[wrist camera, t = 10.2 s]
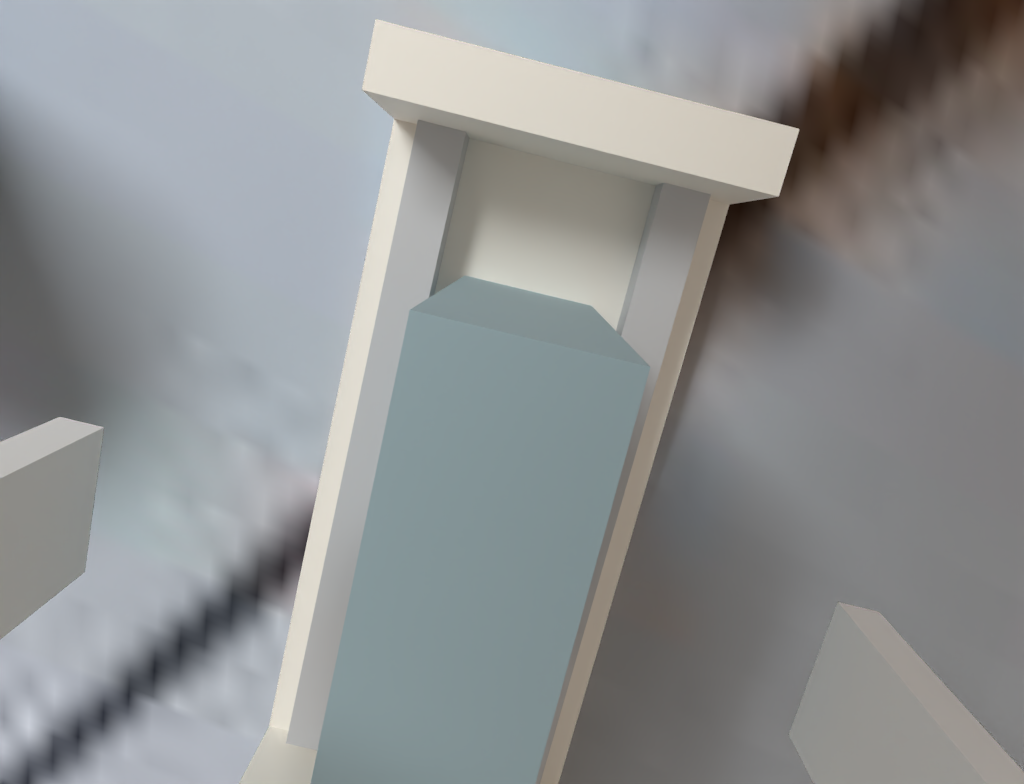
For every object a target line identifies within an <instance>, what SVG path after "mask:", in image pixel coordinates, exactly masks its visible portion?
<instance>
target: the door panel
mask: <svg viewBox="0 0 1024 784" xmlns="http://www.w3.org/2000/svg"><path fill="white" fill-rule="evenodd" d="M649 371H650V366H649V365H648V364H647V363H646V362H645V361H644V360H643V359H642V358H641V357H640V356H639V355H638V353H637V352H636V351H635V350H634V349H633V348H632V347H631V346H630V345H629V344H628V343H627V342H626V341H625V340H624V339H623V338H622V337H621V336H620V335H619V334H618V333H617V332H616V331H615V330H614V329H613V327H612V326H611V325H610V324H609V323H608V322H607V321H606V320H605V319H604V318H603V317H602V316H601V315H600V314H599V313H598V312H597V311H596V310H595V309H594V308H593V307H592V306H590V305H586V304H582V303H578V302H574V301H570V300H565V299H561V298H557V297H553V296H549V295H544V294H540V293H536V292H532V291H528V290H524V289H519V288H515V287H511V286H507V285H503V284H498V283H494V282H490V281H486V280H482V279H478V278H473V277H469V276H463V277H462V278H460V279H458V280H457V281H455V282H454V283H452V284H450V285H449V286H447V287H446V288H444V289H442V290H441V291H439V292H438V293H436V294H434V295H433V296H431V297H430V298H428V299H426V300H425V301H423V302H421V303H420V304H418V305H417V306H415V307H413V308H412V309H410V311H409V316H408V321H407V325H406V330H405V335H404V340H403V344H402V349H401V354H400V359H399V364H398V368H397V373H396V378H395V383H394V387H393V392H392V397H391V402H390V406H389V411H388V416H387V421H386V426H385V430H384V435H383V440H382V445H381V449H380V454H379V459H378V464H377V469H376V473H375V478H374V483H373V488H372V492H371V497H370V502H369V507H368V511H367V516H366V521H365V526H364V531H363V535H362V540H361V545H360V550H359V554H358V559H357V564H356V569H355V574H354V578H353V583H352V588H351V593H350V597H349V602H348V607H347V612H346V616H345V621H344V626H343V631H342V636H341V640H340V645H339V650H338V655H337V659H336V664H335V669H334V674H333V679H332V683H331V688H330V693H329V698H328V702H327V707H326V712H325V717H324V721H323V726H322V731H321V736H320V741H319V745H318V750H317V755H316V760H315V764H314V769H313V774H312V779H311V784H535V783H536V779H537V776H538V772H539V769H540V765H541V761H542V758H543V754H544V750H545V747H546V743H547V740H548V736H549V732H550V729H551V725H552V722H553V718H554V714H555V711H556V707H557V703H558V700H559V696H560V693H561V689H562V685H563V682H564V678H565V674H566V671H567V667H568V664H569V660H570V656H571V653H572V649H573V646H574V642H575V638H576V635H577V631H578V627H579V624H580V620H581V617H582V613H583V609H584V606H585V602H586V598H587V595H588V591H589V588H590V584H591V580H592V577H593V573H594V570H595V566H596V562H597V559H598V555H599V551H600V548H601V544H602V541H603V537H604V533H605V530H606V526H607V522H608V519H609V515H610V512H611V508H612V504H613V501H614V497H615V494H616V490H617V486H618V483H619V479H620V475H621V472H622V468H623V465H624V461H625V457H626V454H627V450H628V446H629V443H630V439H631V436H632V432H633V428H634V425H635V421H636V418H637V414H638V410H639V407H640V403H641V399H642V396H643V392H644V389H645V385H646V381H647V378H648V374H649Z"/></svg>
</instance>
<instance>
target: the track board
mask: <svg viewBox="0 0 1024 784" xmlns="http://www.w3.org/2000/svg"><path fill="white" fill-rule="evenodd" d="M362 90H363V91H364V92H365V93H366V94H367V95H368V96H369V97H371V98H372V99H373V100H374V101H375V102H376V103H377V104H378V105H379V106H381V107H382V108H383V109H384V110H385V111H386V112H387V113H388V114H389V115H391V116H392V117H393V118H394V122H393V127H392V132H391V137H390V142H389V147H388V151H387V156H386V161H385V166H384V171H383V176H382V181H381V185H380V190H379V195H378V200H377V205H376V210H375V215H374V219H373V224H372V229H371V234H370V239H369V244H368V249H367V253H366V258H365V263H364V268H363V273H362V278H361V283H360V287H359V292H358V297H357V302H356V307H355V312H354V317H353V321H352V326H351V331H350V336H349V341H348V346H347V351H346V355H345V360H344V365H343V370H342V375H341V380H340V385H339V389H338V394H337V399H336V404H335V409H334V414H333V419H332V423H331V428H330V433H329V438H328V443H327V448H326V453H325V457H324V462H323V467H322V472H321V477H320V482H319V487H318V491H317V496H316V501H315V506H314V511H313V516H312V521H311V525H310V530H309V535H308V540H307V545H306V550H305V555H304V559H303V564H302V569H301V574H300V579H299V584H298V589H297V593H296V598H295V603H294V608H293V613H292V618H291V623H290V627H289V632H288V637H287V642H286V647H285V652H284V657H283V661H282V666H281V671H280V676H279V681H278V686H277V691H276V695H275V700H274V705H273V710H272V715H271V720H270V725H269V727H268V729H267V731H266V733H265V735H264V737H263V739H262V741H261V743H260V745H259V746H258V748H257V750H256V752H255V754H254V756H253V758H252V760H251V762H250V764H249V765H248V767H247V769H246V771H245V773H244V775H243V777H242V779H241V781H240V783H239V784H311V779H312V774H313V769H314V764H315V760H316V755H317V750H318V745H319V741H320V736H321V731H322V726H323V721H324V717H325V712H326V707H327V702H328V698H329V693H330V688H331V683H332V679H333V674H334V669H335V664H336V659H337V655H338V650H339V645H340V640H341V636H342V631H343V626H344V621H345V616H346V612H347V607H348V602H349V597H350V593H351V588H352V583H353V578H354V574H355V569H356V564H357V559H358V554H359V550H360V545H361V540H362V535H363V531H364V526H365V521H366V516H367V511H368V507H369V502H370V497H371V492H372V488H373V483H374V478H375V473H376V469H377V464H378V459H379V454H380V449H381V445H382V440H383V435H384V430H385V426H386V421H387V416H388V411H389V406H390V402H391V397H392V392H393V387H394V383H395V378H396V373H397V368H398V364H399V359H400V354H401V349H402V344H403V340H404V335H405V330H406V325H407V321H408V316H409V311H410V309H412V308H413V307H415V306H417V305H418V304H420V303H421V302H423V301H425V300H426V299H428V298H430V297H431V296H433V295H434V294H436V293H438V292H439V291H441V290H442V289H444V288H446V287H447V286H449V285H450V284H452V283H454V282H455V281H457V280H458V279H460V278H462V277H463V276H469V277H473V278H478V279H482V280H486V281H490V282H494V283H498V284H503V285H507V286H511V287H515V288H519V289H524V290H528V291H532V292H536V293H540V294H544V295H549V296H553V297H557V298H561V299H565V300H570V301H574V302H578V303H582V304H586V305H590V306H592V307H593V308H594V309H595V310H596V311H597V312H598V313H599V314H600V315H601V316H602V317H603V318H604V319H605V320H606V321H607V322H608V323H609V324H610V325H611V326H612V327H613V329H614V330H615V331H616V332H617V333H618V334H619V335H620V336H621V337H622V338H623V339H624V340H625V341H626V342H627V343H628V344H629V345H630V346H631V347H632V348H633V349H634V350H635V351H636V352H637V353H638V355H639V356H640V357H641V358H642V359H643V360H644V361H645V362H646V363H647V364H648V365H649V366H650V371H649V374H648V378H647V381H646V385H645V389H644V392H643V396H642V399H641V403H640V407H639V410H638V414H637V418H636V421H635V425H634V428H633V432H632V436H631V439H630V443H629V446H628V450H627V454H626V457H625V461H624V465H623V468H622V472H621V475H620V479H619V483H618V486H617V490H616V494H615V497H614V501H613V504H612V508H611V512H610V515H609V519H608V522H607V526H606V530H605V533H604V537H603V541H602V544H601V548H600V551H599V555H598V559H597V562H596V566H595V570H594V573H593V577H592V580H591V584H590V588H589V591H588V595H587V598H586V602H585V606H584V609H583V613H582V617H581V620H580V624H579V627H578V631H577V635H576V638H575V642H574V646H573V649H572V653H571V656H570V660H569V664H568V667H567V671H566V674H565V678H564V682H563V685H562V689H561V693H560V696H559V700H558V703H557V707H556V711H555V714H554V718H553V722H552V725H551V729H550V732H549V736H548V740H547V743H546V747H545V750H544V754H543V758H542V761H541V765H540V769H539V772H538V776H537V779H536V783H535V784H558V783H559V780H560V777H561V773H562V770H563V767H564V763H565V760H566V756H567V753H568V750H569V746H570V743H571V739H572V736H573V733H574V729H575V726H576V723H577V719H578V716H579V712H580V709H581V706H582V702H583V699H584V695H585V692H586V689H587V685H588V682H589V679H590V675H591V672H592V668H593V665H594V662H595V658H596V655H597V651H598V648H599V645H600V641H601V638H602V635H603V631H604V628H605V624H606V621H607V618H608V614H609V611H610V607H611V604H612V601H613V597H614V594H615V591H616V587H617V584H618V580H619V577H620V574H621V570H622V567H623V563H624V560H625V557H626V553H627V550H628V547H629V543H630V540H631V536H632V533H633V530H634V526H635V523H636V519H637V516H638V513H639V509H640V506H641V503H642V499H643V496H644V492H645V489H646V486H647V482H648V479H649V475H650V472H651V469H652V465H653V462H654V459H655V455H656V452H657V448H658V445H659V442H660V438H661V435H662V431H663V428H664V425H665V421H666V418H667V415H668V411H669V408H670V404H671V401H672V398H673V394H674V391H675V387H676V384H677V381H678V377H679V374H680V371H681V367H682V364H683V360H684V357H685V354H686V350H687V347H688V343H689V340H690V337H691V333H692V330H693V327H694V323H695V320H696V316H697V313H698V310H699V306H700V303H701V299H702V296H703V293H704V289H705V286H706V283H707V279H708V276H709V272H710V269H711V266H712V262H713V259H714V255H715V252H716V249H717V245H718V242H719V239H720V235H721V232H722V228H723V225H724V222H725V218H726V215H727V211H728V208H729V205H730V204H736V203H742V202H748V201H755V200H761V199H767V198H773V197H779V194H780V191H781V187H782V184H783V181H784V178H785V174H786V171H787V168H788V165H789V161H790V158H791V155H792V152H793V148H794V145H795V142H796V139H797V135H798V132H799V129H797V128H794V127H790V126H786V125H782V124H778V123H774V122H770V121H767V120H763V119H759V118H755V117H751V116H747V115H743V114H740V113H736V112H732V111H728V110H724V109H720V108H717V107H713V106H709V105H705V104H701V103H697V102H693V101H690V100H686V99H682V98H678V97H674V96H670V95H666V94H663V93H659V92H655V91H651V90H647V89H643V88H639V87H636V86H632V85H628V84H624V83H620V82H616V81H612V80H609V79H605V78H601V77H597V76H593V75H589V74H585V73H582V72H578V71H574V70H570V69H566V68H562V67H559V66H555V65H551V64H547V63H543V62H539V61H535V60H532V59H528V58H524V57H520V56H516V55H512V54H508V53H505V52H501V51H497V50H493V49H489V48H485V47H481V46H478V45H474V44H470V43H466V42H462V41H458V40H454V39H451V38H447V37H443V36H439V35H435V34H431V33H428V32H424V31H420V30H416V29H412V28H408V27H404V26H401V25H397V24H393V23H389V22H385V21H381V20H377V19H376V20H375V25H374V30H373V35H372V40H371V46H370V51H369V56H368V61H367V66H366V71H365V76H364V81H363V86H362Z"/></svg>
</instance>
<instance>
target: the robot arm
mask: <svg viewBox="0 0 1024 784" xmlns="http://www.w3.org/2000/svg"><path fill="white" fill-rule="evenodd" d="M103 433H104V427H101V426H97V425H93V424H88V423H84V422H80V421H76V420H72V419H67V418H63V417H58V418H55V419H53V420H51V421H48V422H46V423H44V424H41V425H39V426H37V427H34V428H32V429H29V430H27V431H25V432H22V433H20V434H18V435H15V436H13V437H11V438H8V439H6V440H3V441H1V442H0V639H1V638H3V637H4V636H5V635H6V634H8V633H9V632H10V631H11V630H13V629H14V628H15V627H16V626H18V625H19V624H20V623H21V622H23V621H24V620H25V619H26V618H28V617H29V616H30V615H31V614H33V613H34V612H35V611H36V610H38V609H39V608H40V607H41V606H43V605H44V604H45V603H46V602H48V601H49V600H50V599H52V598H53V597H54V596H55V595H57V594H58V593H59V592H60V591H62V590H63V589H64V588H65V587H67V586H68V585H69V584H70V583H72V582H73V581H74V580H75V579H77V578H78V577H79V576H80V575H82V574H83V573H84V572H85V567H86V560H87V552H88V545H89V537H90V530H91V522H92V515H93V507H94V500H95V492H96V485H97V477H98V470H99V462H100V455H101V448H102V440H103ZM788 735H789V736H790V738H791V740H792V742H793V744H794V746H795V748H796V750H797V752H798V754H799V756H800V758H801V760H802V762H803V764H804V766H805V768H806V770H807V772H808V774H809V776H810V777H811V779H812V781H813V783H814V784H1024V772H1023V771H1022V769H1021V768H1020V767H1019V766H1018V765H1017V764H1016V763H1015V762H1014V761H1013V760H1012V758H1011V757H1010V756H1009V755H1008V754H1007V753H1006V752H1005V751H1004V750H1003V748H1002V747H1001V746H1000V745H999V744H998V743H997V742H996V741H995V740H994V738H993V737H992V736H991V735H990V734H989V733H988V732H987V731H986V730H985V729H984V727H983V726H982V725H981V724H980V723H979V722H978V721H977V720H976V719H975V717H974V716H973V715H972V714H971V713H970V712H969V711H968V710H967V709H966V707H965V706H964V705H963V704H962V703H961V702H960V701H959V700H958V699H957V698H956V696H955V695H954V694H953V693H952V692H951V691H950V690H949V689H948V688H947V686H946V685H945V684H944V683H943V682H942V681H941V680H940V679H939V678H938V677H937V675H936V674H935V673H934V672H933V671H932V670H931V669H930V668H929V667H928V665H927V664H926V663H925V662H924V661H923V660H922V659H921V658H920V657H919V655H918V654H917V653H916V652H915V651H914V650H913V649H912V648H911V647H910V646H909V644H908V643H907V642H906V641H905V640H904V639H903V638H902V637H901V636H900V634H899V633H898V632H897V631H896V630H895V629H894V628H893V627H892V626H891V625H890V623H889V622H888V621H887V620H886V619H885V618H884V617H883V616H882V615H881V613H880V612H878V611H874V610H870V609H866V608H861V607H857V606H853V605H849V604H845V603H840V602H837V605H836V608H835V610H834V613H833V616H832V619H831V621H830V624H829V627H828V629H827V632H826V635H825V637H824V640H823V643H822V645H821V648H820V651H819V653H818V656H817V659H816V662H815V664H814V667H813V670H812V672H811V675H810V678H809V680H808V683H807V686H806V688H805V691H804V694H803V696H802V699H801V702H800V704H799V707H798V710H797V713H796V715H795V718H794V721H793V723H792V726H791V729H790V731H789V734H788Z"/></svg>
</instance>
